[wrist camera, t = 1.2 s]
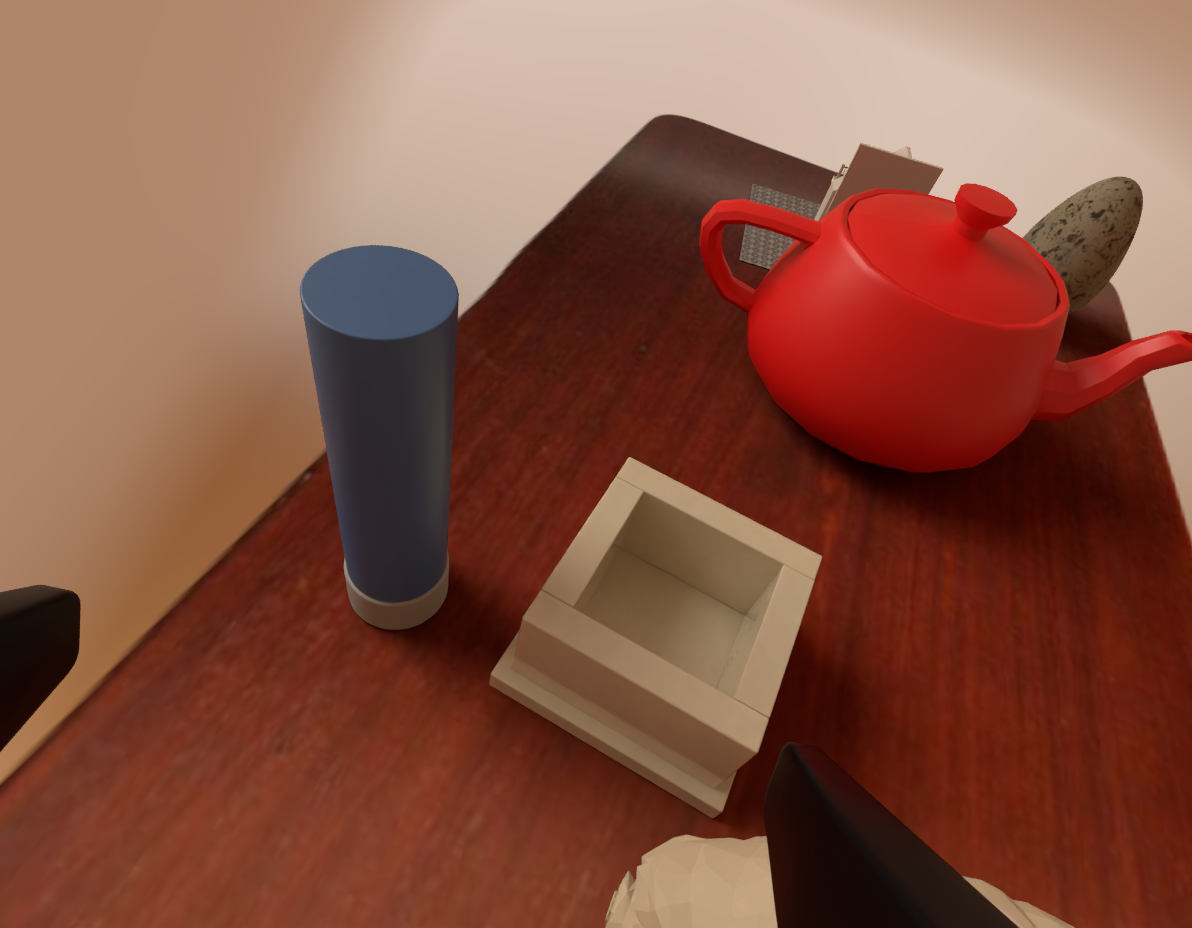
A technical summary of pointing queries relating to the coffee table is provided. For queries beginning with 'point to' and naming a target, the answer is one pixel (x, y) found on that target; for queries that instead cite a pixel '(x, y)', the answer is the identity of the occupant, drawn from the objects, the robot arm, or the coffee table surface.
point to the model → (735, 889)
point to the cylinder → (387, 421)
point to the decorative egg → (1089, 236)
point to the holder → (664, 635)
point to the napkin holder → (837, 195)
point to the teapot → (917, 327)
